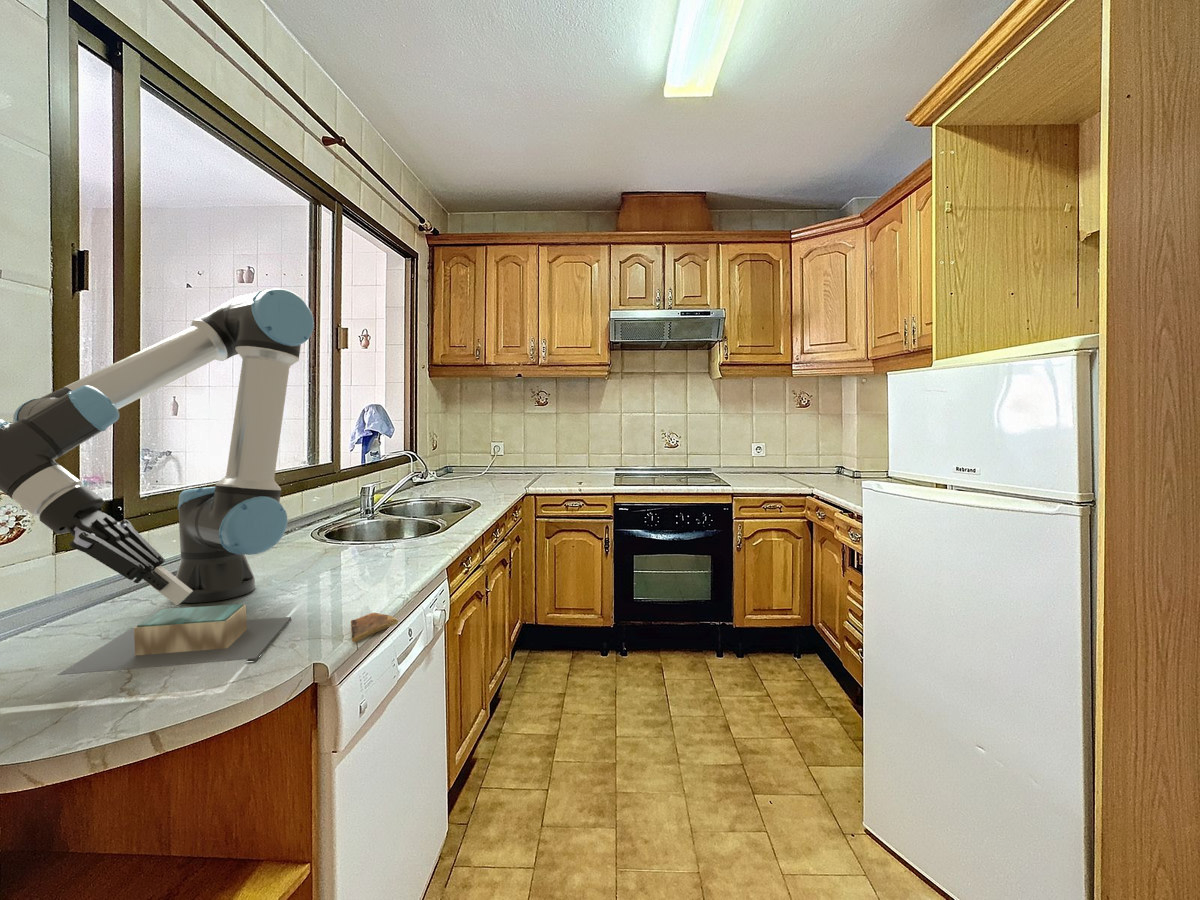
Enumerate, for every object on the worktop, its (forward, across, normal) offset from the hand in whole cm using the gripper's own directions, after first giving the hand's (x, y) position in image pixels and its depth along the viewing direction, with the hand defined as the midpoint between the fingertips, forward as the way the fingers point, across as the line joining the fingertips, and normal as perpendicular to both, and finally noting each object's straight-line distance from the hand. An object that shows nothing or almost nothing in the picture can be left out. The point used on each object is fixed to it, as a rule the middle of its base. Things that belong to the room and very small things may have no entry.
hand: (184, 598), depth 99 cm
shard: (+27, -2, +14) cm, 31 cm away
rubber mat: (+6, 0, -5) cm, 8 cm away
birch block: (0, 0, -8) cm, 8 cm away
